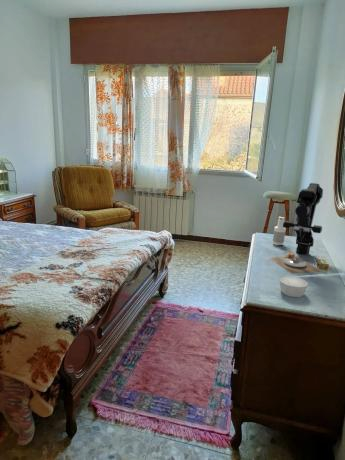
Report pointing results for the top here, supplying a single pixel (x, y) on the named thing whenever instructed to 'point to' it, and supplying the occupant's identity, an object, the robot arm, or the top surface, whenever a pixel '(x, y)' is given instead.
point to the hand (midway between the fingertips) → (299, 242)
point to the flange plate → (298, 265)
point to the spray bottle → (279, 232)
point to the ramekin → (293, 286)
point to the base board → (292, 270)
